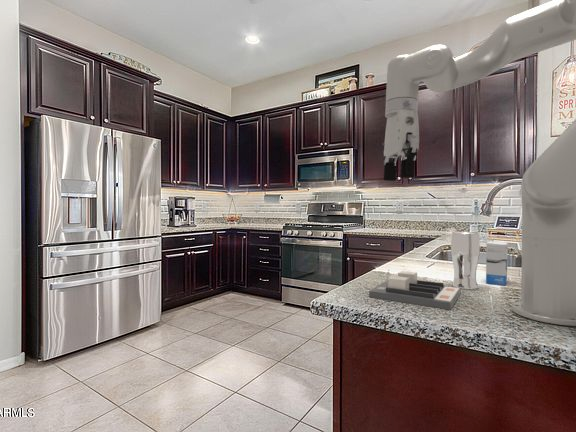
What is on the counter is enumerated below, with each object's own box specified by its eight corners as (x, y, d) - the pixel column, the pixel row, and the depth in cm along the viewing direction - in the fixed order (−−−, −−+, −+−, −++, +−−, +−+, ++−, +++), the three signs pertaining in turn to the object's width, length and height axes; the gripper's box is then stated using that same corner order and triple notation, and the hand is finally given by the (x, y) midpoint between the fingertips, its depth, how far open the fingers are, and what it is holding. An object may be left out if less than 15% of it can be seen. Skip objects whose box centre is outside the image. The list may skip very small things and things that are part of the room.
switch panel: (460, 293, 81) (460, 283, 81) (450, 309, 68) (450, 298, 68) (389, 284, 91) (389, 275, 91) (369, 297, 78) (369, 286, 78)
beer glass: (472, 284, 92) (472, 232, 91) (484, 290, 85) (485, 233, 84) (446, 283, 92) (447, 231, 92) (457, 289, 85) (457, 233, 85)
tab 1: (409, 289, 78) (409, 277, 78) (405, 292, 76) (405, 280, 75) (392, 287, 81) (392, 275, 81) (388, 290, 78) (388, 278, 78)
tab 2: (417, 283, 85) (417, 272, 85) (413, 286, 82) (413, 274, 82) (401, 281, 87) (401, 270, 87) (397, 284, 84) (397, 272, 84)
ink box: (506, 286, 89) (506, 244, 89) (485, 283, 92) (485, 242, 92) (507, 280, 96) (508, 241, 96) (488, 278, 99) (488, 240, 99)
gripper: (435, 99, 71) (430, 177, 71) (400, 119, 88) (397, 182, 89) (402, 97, 70) (398, 175, 71) (373, 118, 87) (370, 180, 88)
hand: (397, 179), depth 80 cm, fingers open, 9 cm apart
